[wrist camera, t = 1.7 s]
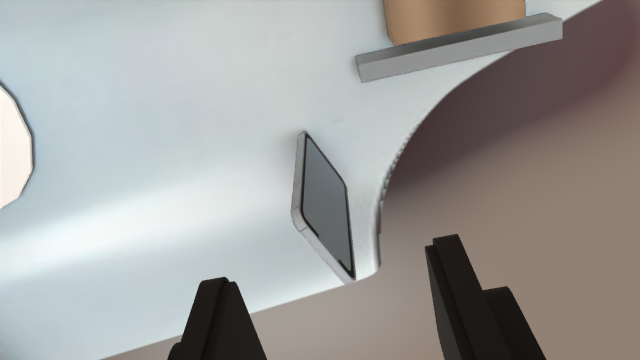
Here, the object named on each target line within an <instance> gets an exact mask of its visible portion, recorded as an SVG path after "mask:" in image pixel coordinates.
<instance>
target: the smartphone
mask: <svg viewBox="0 0 640 360" xmlns="http://www.w3.org/2000/svg"><path fill="white" fill-rule="evenodd" d="M291 217H292V220H293V223H294V225H295V227H296V229H297V230H298V231H299V232H300V233H301V234H302V235H303V236H304V237H305V238H306V240H307V241H308V242H309V243H310V244H311V245H312V247H313V248H314V249H315V250H316V251H317V252H318V254H319V255H320V256H321V257H322V258H323V260H324V261H325V262H326V263H327V264H328V265H329V267H330V268H331V269H332V270H333V271H334V273H335V274H336V275H337V276H338V277H339V278H340V280H341V281H342V282H343V283H344V284H346V285H348V284H350V283H352V282H354V281H356V270H355V260H354V250H353V240H352V231H351V221H350V211H349V201H348V191H347V187H346V184H345V182H344V181H343V179H342V177H341V176H340V175H339V173H338V172H337V171H336V169H335V168H334V167H333V165H332V164H331V163H330V161H329V160H328V159H327V158H326V156H325V155H324V154H323V152H322V151H321V150H320V148H319V147H318V146H317V144H316V143H315V142H314V140H313V139H312V138H311V136H310V135H309V134H308V133H307V132H306V131H304V132H302V133H301V134H299V135H298V143H297V154H296V164H295V174H294V184H293V194H292V204H291Z"/></svg>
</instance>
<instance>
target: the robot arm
mask: <svg viewBox="0 0 640 360" xmlns="http://www.w3.org/2000/svg"><path fill="white" fill-rule="evenodd" d="M425 253H426V259H427V265H428V272H429V279H430V285H431V291H432V298H433V303H434V311H435V317H436V324H437V330H438V335H439V340H440V344H441V348H442V351H443V355H444V359H445V360H546V358H545V356H544V354H543V352H542V350H541V348H540V347H539V344H538V343H537V341H536V339H535V337H534V335H533V333H532V331H531V329H530V327H529V325H528V323H527V321H526V319H525V317H524V315H523V313H522V311H521V309H520V307H519V305H518V304H517V302H516V300H515V298H514V296H513V294H512V292H511V291H510V289H509V288H508V287H507V286H506V287H500V288H494V289H488V290H482V288H481V286H480V284H479V281H478V279H477V277H476V274H475V272H474V270H473V268H472V265H471V263H470V261H469V258H468V256H467V254H466V252H465V249H464V247H463V245H462V242H461V240H460V238H459V236H458V234H454V235H449V236H443V237H438V238H433V245H430V246H425ZM167 360H267V358H266V356H265V353H264V351H263V348H262V346H261V343H260V341H259V338H258V335H257V333H256V331H255V328H254V326H253V323H252V320H251V318H250V315H249V313H248V310H247V308H246V305H245V303H244V300H243V298H242V295H241V293H240V290H239V288H238V286H237V284H236V282H234V281H233V282H229V280H228V279H227V278H226V277H221V278H215V279H210V280H204V281H202V282H201V283H200V285H199V287H198V290H197V293H196V296H195V300H194V303H193V306H192V309H191V312H190V315H189V318H188V321H187V324H186V327H185V330H184V333H183V336H182V339H181V342H179V343H176V344H175V345H174V346H173V347H172V349H171V351H170V353H169V356H168V359H167Z"/></svg>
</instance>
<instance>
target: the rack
mask: <svg viewBox="0 0 640 360" xmlns="http://www.w3.org/2000/svg"><path fill="white" fill-rule="evenodd" d="M558 39H562V19H561V18H558V17H556V16H553V15H551V14H549V13H542V14H538V15H534V16H529V17H525V18H523V19H518V20H513V21H509V22H504V23H499V24H494V25H490V26H485V27H481V28H477V29H472V30H468V31H463V32H459V33H455V34H450V35H446V36H441V37H437V38H433V39H428V40H424V41H419V42H415V43H411V44H406V45H402V46H398V47H393V48H389V49H384V50H380V51H376V52H371V53H367V54H362V55H358V56H356V60H357V65H358V71H359V75H360V79H361V83H364V82H369V81H373V80H378V79H382V78H387V77H391V76H396V75H400V74H405V73H409V72H414V71H418V70H423V69H427V68H432V67H436V66H441V65H445V64H450V63H454V62H459V61H464V60H468V59H473V58H477V57H482V56H486V55H491V54H495V53H500V52H504V51H509V50H513V49H518V48H522V47H526V46H531V45H535V44H540V43H545V42H549V41H554V40H558Z"/></svg>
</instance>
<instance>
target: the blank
mask: <svg viewBox="0 0 640 360" xmlns="http://www.w3.org/2000/svg"><path fill="white" fill-rule="evenodd" d="M383 6H384V13H385V20H386V27H387V33H388V37H389V38H390V40H391V42H392V44H393V45H394V46H396V45H401V44H405V43H410V42H415V41H419V40H424V39H429V38H434V37H438V36H443V35H448V34H452V33H457V32H462V31H466V30H471V29H476V28H480V27H485V26H490V25H494V24H499V23H504V22H509V21H513V20H518V19H523V18H525V0H383Z"/></svg>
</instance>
